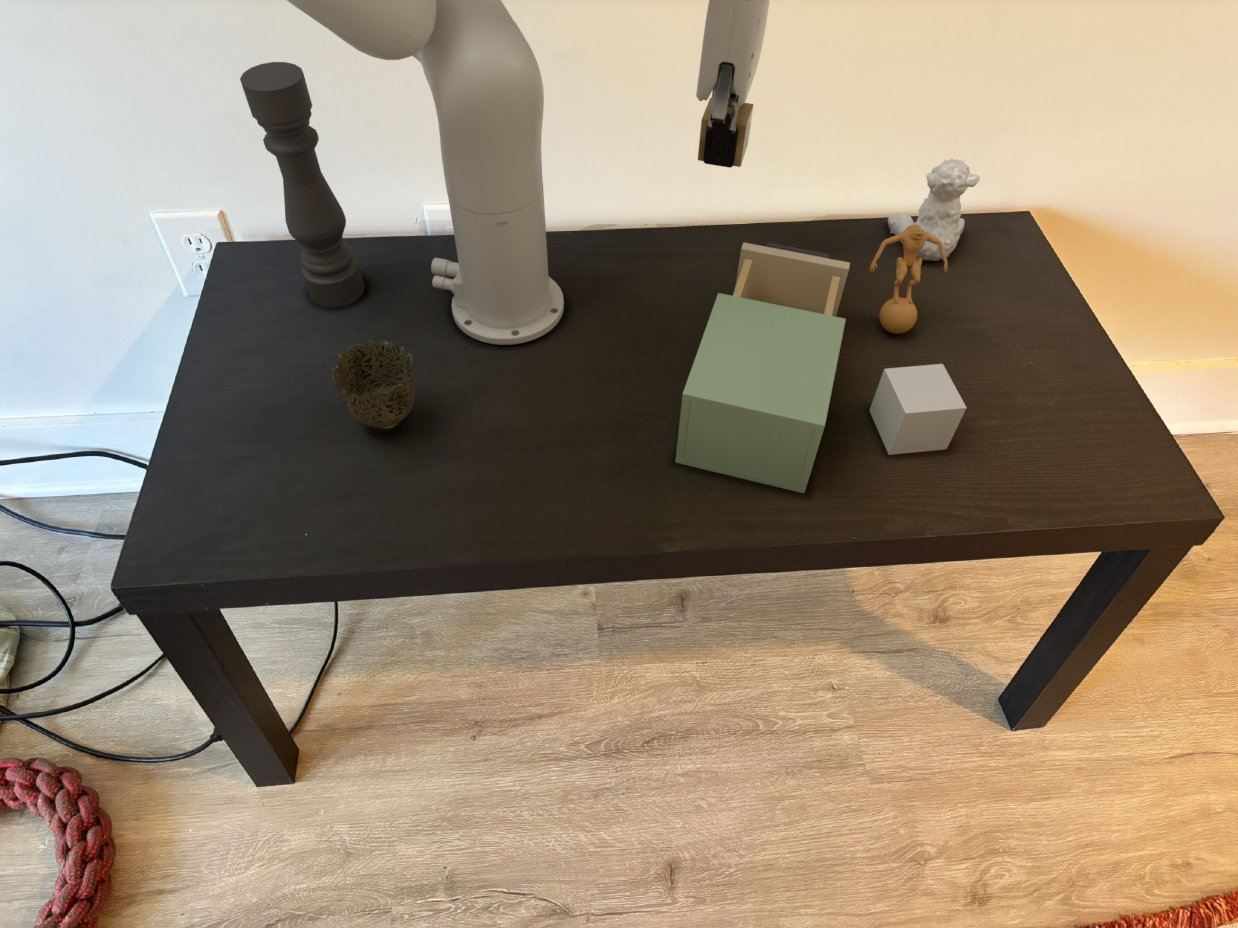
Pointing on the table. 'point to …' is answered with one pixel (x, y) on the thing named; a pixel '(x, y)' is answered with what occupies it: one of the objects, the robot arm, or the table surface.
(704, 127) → the block
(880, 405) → the white cube
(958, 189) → the white creature statuette
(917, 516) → the table surface
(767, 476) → the cabinet
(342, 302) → the candle holder
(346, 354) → the cup
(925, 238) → the figurine
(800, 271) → the drawer
